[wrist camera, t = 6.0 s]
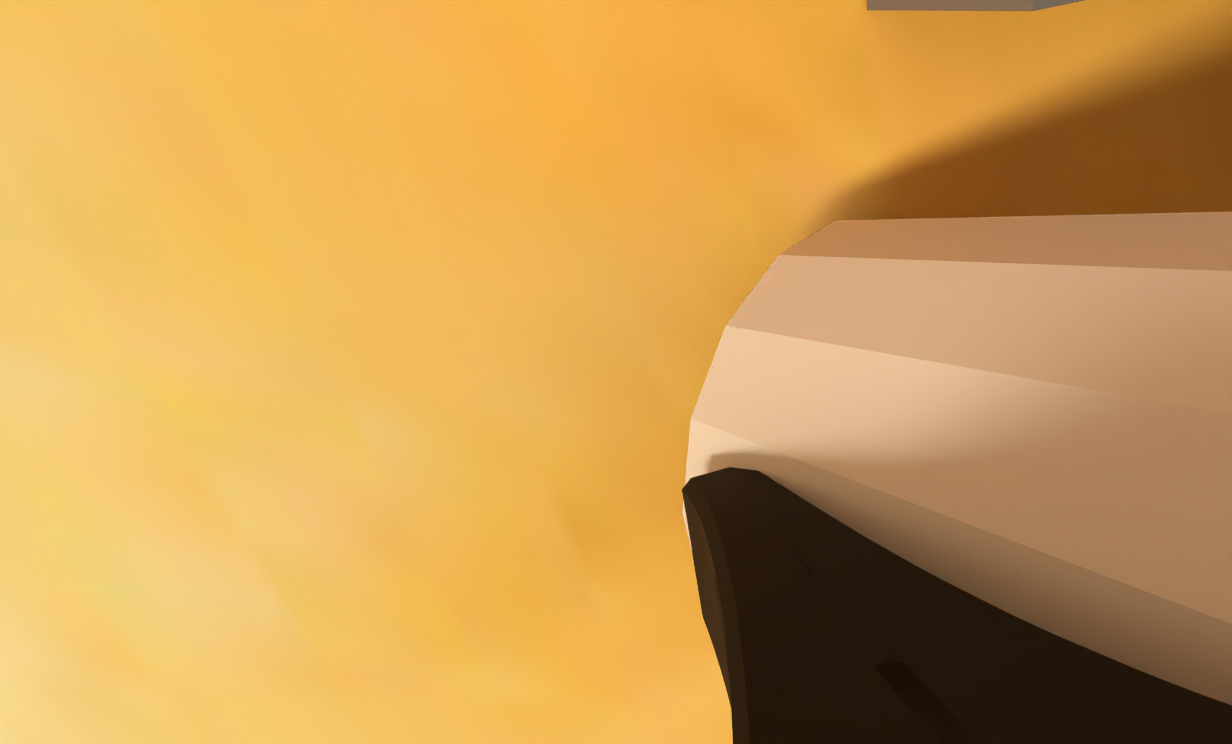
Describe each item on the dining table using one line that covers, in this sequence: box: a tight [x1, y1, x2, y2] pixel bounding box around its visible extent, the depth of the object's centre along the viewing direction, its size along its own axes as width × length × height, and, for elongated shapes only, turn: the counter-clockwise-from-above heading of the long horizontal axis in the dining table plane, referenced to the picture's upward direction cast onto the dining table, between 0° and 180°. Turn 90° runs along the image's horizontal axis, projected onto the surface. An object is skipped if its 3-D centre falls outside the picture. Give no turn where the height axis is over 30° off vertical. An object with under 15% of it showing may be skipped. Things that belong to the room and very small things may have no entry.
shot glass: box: [682, 212, 1232, 705], centre depth 8 cm, size 7×7×7 cm
